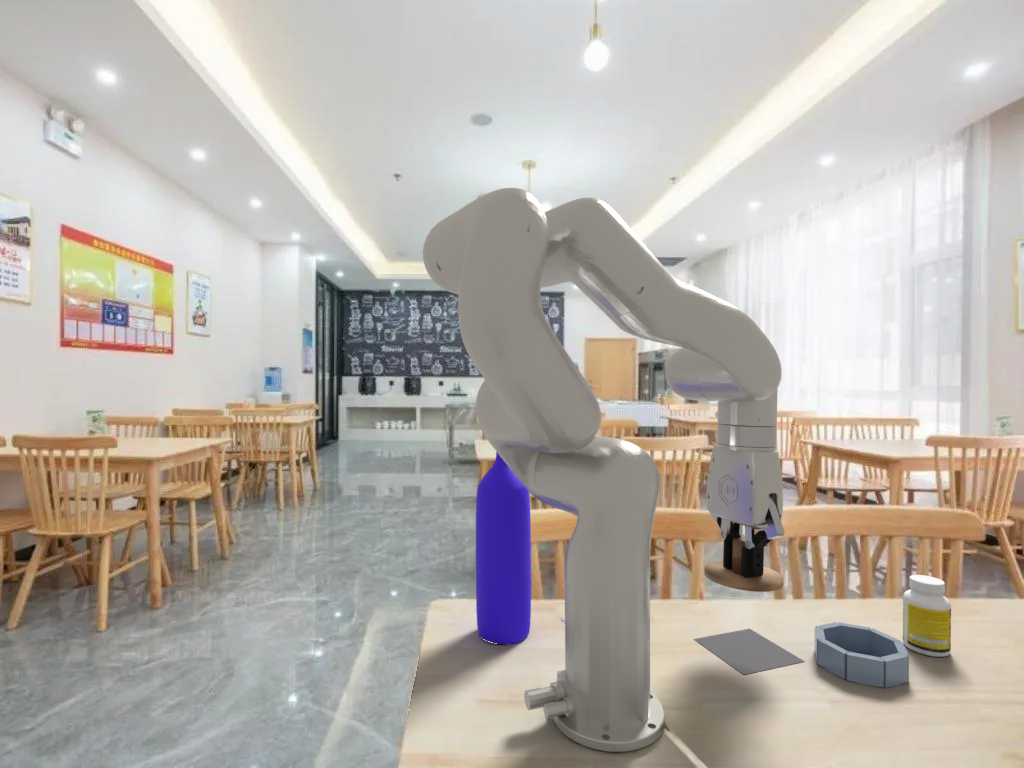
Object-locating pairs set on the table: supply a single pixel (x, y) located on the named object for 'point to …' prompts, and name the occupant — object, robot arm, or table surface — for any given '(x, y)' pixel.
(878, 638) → the bowl
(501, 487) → the bottle
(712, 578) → the lid
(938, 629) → the supplement bottle
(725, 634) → the mat
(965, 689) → the table surface
